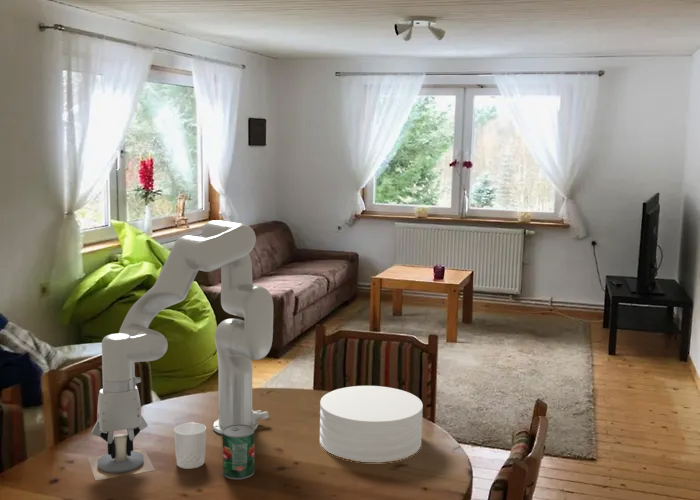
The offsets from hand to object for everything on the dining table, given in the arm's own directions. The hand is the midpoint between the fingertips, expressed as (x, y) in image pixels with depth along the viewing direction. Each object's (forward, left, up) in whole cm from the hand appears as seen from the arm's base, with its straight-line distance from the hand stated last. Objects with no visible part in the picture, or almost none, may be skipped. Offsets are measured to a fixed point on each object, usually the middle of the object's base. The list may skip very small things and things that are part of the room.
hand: (120, 454), depth 186 cm
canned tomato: (-26, +14, -4) cm, 30 cm away
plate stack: (-65, +10, -4) cm, 66 cm away
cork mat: (0, 0, -3) cm, 3 cm away
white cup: (-16, +6, -4) cm, 17 cm away
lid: (0, 0, -2) cm, 2 cm away
